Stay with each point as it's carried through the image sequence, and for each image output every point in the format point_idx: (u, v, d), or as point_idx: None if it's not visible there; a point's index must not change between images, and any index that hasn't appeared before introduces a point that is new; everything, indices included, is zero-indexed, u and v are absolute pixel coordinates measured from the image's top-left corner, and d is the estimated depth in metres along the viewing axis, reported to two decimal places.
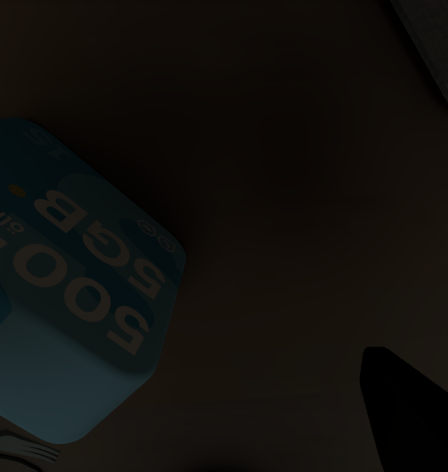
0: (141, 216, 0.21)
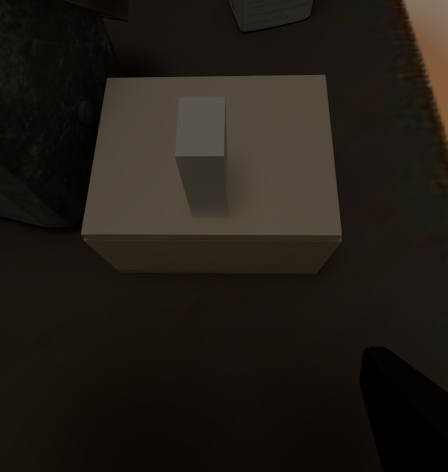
0: None
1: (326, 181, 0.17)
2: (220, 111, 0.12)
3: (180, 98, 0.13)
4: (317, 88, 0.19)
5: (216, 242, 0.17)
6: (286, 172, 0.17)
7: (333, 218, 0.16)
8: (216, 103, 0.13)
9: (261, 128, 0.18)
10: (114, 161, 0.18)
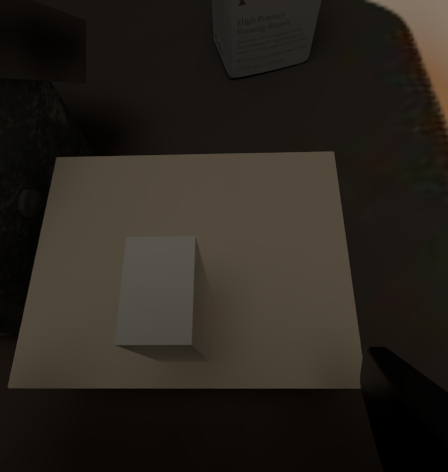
0: None
1: (341, 304, 0.13)
2: (187, 261, 0.08)
3: (127, 239, 0.08)
4: (324, 170, 0.15)
5: None
6: (288, 291, 0.13)
7: (353, 361, 0.12)
8: (182, 247, 0.08)
9: (253, 226, 0.14)
10: (59, 275, 0.13)
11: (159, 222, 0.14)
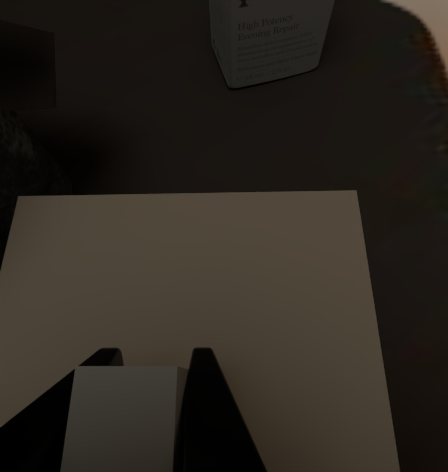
0: None
1: (371, 395, 0.10)
2: (165, 409, 0.05)
3: (77, 371, 0.06)
4: (345, 214, 0.12)
5: None
6: (303, 376, 0.10)
7: None
8: (157, 385, 0.06)
9: (258, 288, 0.11)
10: (15, 352, 0.11)
11: (142, 282, 0.11)
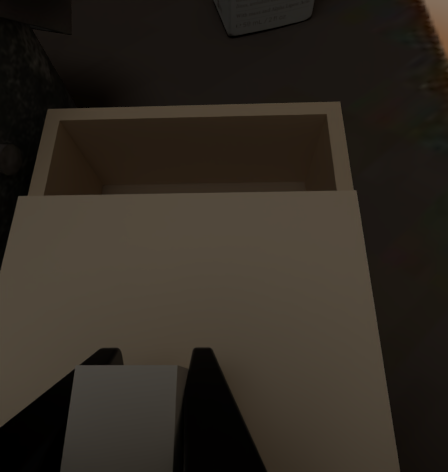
0: None
1: (371, 395, 0.10)
2: (165, 408, 0.05)
3: (77, 370, 0.06)
4: (345, 214, 0.12)
5: None
6: (303, 376, 0.10)
7: None
8: (157, 384, 0.06)
9: (258, 288, 0.11)
10: (14, 352, 0.11)
11: (142, 281, 0.11)
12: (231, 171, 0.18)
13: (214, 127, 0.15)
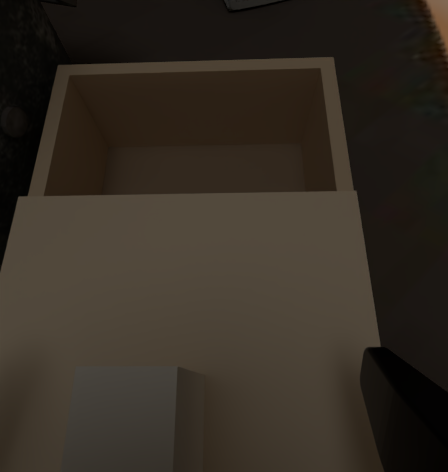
0: None
1: None
2: (166, 409, 0.05)
3: (77, 371, 0.06)
4: (345, 214, 0.12)
5: None
6: (303, 376, 0.10)
7: None
8: (157, 385, 0.06)
9: (258, 288, 0.11)
10: (14, 352, 0.11)
11: (142, 282, 0.11)
12: (231, 132, 0.19)
13: (215, 83, 0.16)
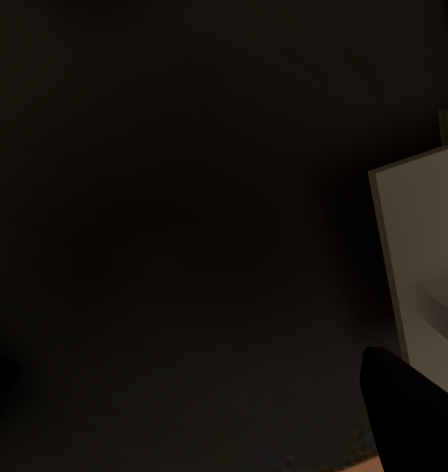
0: None
1: None
2: None
3: None
4: None
5: None
6: None
7: None
8: None
9: None
10: None
11: None
12: None
13: None
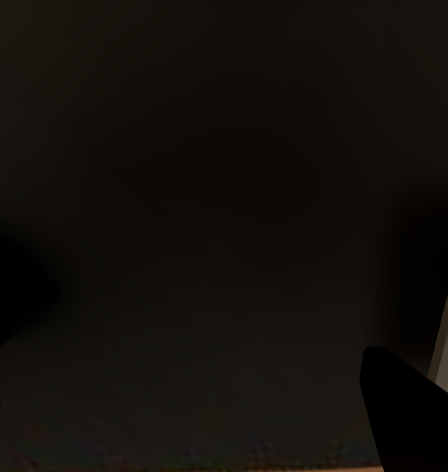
0: None
1: None
2: None
3: None
4: None
5: None
6: None
7: None
8: None
9: None
10: None
11: None
12: None
13: None
